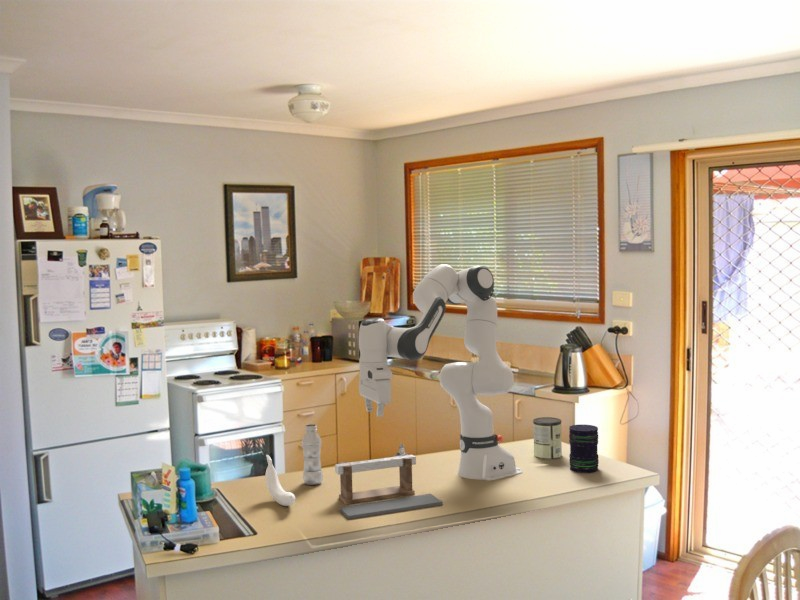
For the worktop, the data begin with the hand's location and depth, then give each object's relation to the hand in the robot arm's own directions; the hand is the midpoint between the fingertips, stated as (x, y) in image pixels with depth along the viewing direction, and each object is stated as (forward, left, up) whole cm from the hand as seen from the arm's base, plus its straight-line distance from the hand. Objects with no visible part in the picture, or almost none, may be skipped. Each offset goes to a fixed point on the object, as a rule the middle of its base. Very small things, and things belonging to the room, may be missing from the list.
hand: (374, 414), depth 249 cm
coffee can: (-73, -16, -27) cm, 79 cm away
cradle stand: (0, 0, -26) cm, 26 cm away
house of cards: (-24, -33, -27) cm, 49 cm away
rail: (0, 0, -17) cm, 17 cm away
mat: (0, +12, -26) cm, 29 cm away
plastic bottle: (+15, -22, -27) cm, 37 cm away
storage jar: (-75, +4, -27) cm, 80 cm away
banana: (+29, -5, -27) cm, 40 cm away
